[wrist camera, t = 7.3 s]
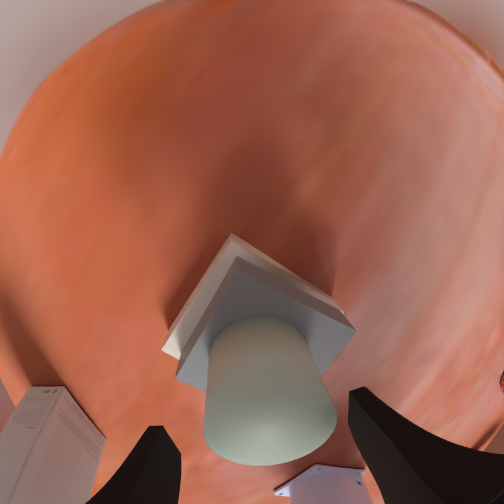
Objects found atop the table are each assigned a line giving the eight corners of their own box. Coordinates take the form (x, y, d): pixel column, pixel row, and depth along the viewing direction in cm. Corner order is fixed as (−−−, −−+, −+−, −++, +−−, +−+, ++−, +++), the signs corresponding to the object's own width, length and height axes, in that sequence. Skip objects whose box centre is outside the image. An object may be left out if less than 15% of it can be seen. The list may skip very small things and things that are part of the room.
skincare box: (30, 384, 19) (-35, 483, 4) (68, 383, 19) (0, 507, 4) (73, 439, 21) (34, 536, 7) (112, 442, 21) (80, 556, 7)
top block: (340, 310, 16) (356, 330, 14) (277, 392, 17) (283, 417, 15) (237, 255, 15) (238, 270, 12) (180, 353, 16) (174, 378, 14)
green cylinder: (326, 342, 14) (363, 408, 9) (270, 403, 14) (283, 473, 10) (243, 298, 13) (252, 366, 8) (191, 370, 13) (181, 445, 9)
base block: (328, 293, 19) (344, 312, 16) (263, 374, 20) (268, 400, 17) (231, 230, 17) (231, 241, 14) (169, 326, 19) (161, 350, 16)
